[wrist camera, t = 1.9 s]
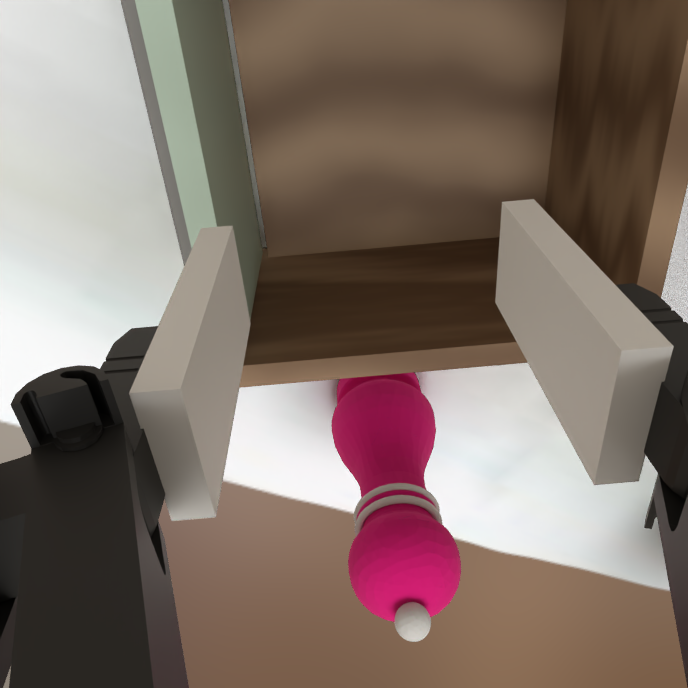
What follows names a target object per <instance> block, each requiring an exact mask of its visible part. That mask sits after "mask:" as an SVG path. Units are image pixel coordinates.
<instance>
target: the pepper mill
mask: <svg viewBox="0 0 688 688" xmlns="http://www.w3.org/2000/svg"><path fill="white" fill-rule="evenodd" d="M332 433H333V439H334V443H335V447H336V449H337V451H338V453H339V455H340V457H341V459H342V461H343V463H344V464H345V465H346V467H347V468H348V469H349V471H350V472H351V473H352V474H353V476H354V477H355V479H356V480H357V482H358V484H359V486H360V490H361V497H362V498H361V500H360V501H359V503H358V504H357V506H356V509H355V512H354V521H355V534H356V538H355V539H354V541H353V543H352V546H351V549H350V552H349V560H348V565H349V575H350V580H351V584H352V587H353V589H354V591H355V594H356V596H357V597H358V599H359V600H360V601H361V603H362V604H363V605H364V606H365V607H366V608H367V609H368V610H369V611H370V612H371V613H373V614H375V615H377V616H379V617H381V618H383V619H385V620H389V621H393V622H395V627H396V630H397V632H398V633H399V635H400V636H401V637H402V638H404V639H405V640H408V641H413V642H414V641H419V640H422V639H423V638H425V637H426V636H427V634H428V632H429V630H430V626H431V619H430V617H432V616H434V615H436V614H438V613H439V612H440V611H441V610H442V609H443V608H444V607H446V606H447V605H448V604H449V603H450V601H451V600H452V598H453V596H454V594H455V592H456V590H457V588H458V585H459V581H460V574H461V561H460V556H459V551H458V548H457V545H456V543H455V541H454V539H453V537H452V535H451V534H450V533H449V531H448V530H447V529H446V528H445V527H444V526H443V525H442V518H441V515H440V513H439V505H438V503H437V501H436V499H435V498H434V496H433V495H432V494H431V493H430V492H428V491H427V490H426V488H425V483H424V471H425V468H426V465H427V463H428V460H429V458H430V455H431V453H432V450H433V446H434V440H435V433H436V428H435V419H434V412H433V410H432V407H431V405H430V403H429V401H428V400H427V398H426V397H425V396H424V395H423V394H422V393H421V390H420V386H419V382H418V379H417V376H416V374H415V373H414V372H412V373H401V374H389V375H377V376H366V377H354V378H343V379H340V380H339V382H338V386H337V407H336V409H335V411H334V414H333V418H332Z"/></svg>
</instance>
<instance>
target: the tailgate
mask: <svg viewBox="0 0 688 688" xmlns="http://www.w3.org/2000/svg"><path fill="white" fill-rule="evenodd" d="M121 4H122V8H123V12H124V16H125V20H126V25H127V29H128V33H129V37H130V41H131V45H132V50H133V54H134V58H135V62H136V66H137V71H138V75H139V79H140V83H141V87H142V91H143V96H144V100H145V104H146V108H147V112H148V116H149V121H150V125H151V129H152V133H153V137H154V141H155V146H156V150H157V154H158V158H159V162H160V167H161V171H162V175H163V179H164V183H165V187H166V192H167V196H168V200H169V204H170V208H171V212H172V217H173V221H174V225H175V229H176V233H177V237H178V242H179V246H180V250H181V254H182V258H183V263H184V266H185V264H186V262H187V259H188V257H189V255H190V252H191V250H192V248H193V246H194V243H195V241H196V239H197V236H198V234H199V232H200V230H201V228H209V227H221V226H232V225H233V230H234V236H235V241H236V247H237V252H238V258H239V263H240V268H241V274H242V279H243V285H244V290H245V295H246V301H247V306H248V312H249V317H250V320H251V314H252V309H253V303H254V298H255V292H256V287H257V281H258V276H259V270H260V265H261V259H262V254H263V251H262V245H261V239H260V233H259V226H258V220H257V214H256V208H255V201H254V195H253V189H252V183H251V177H250V170H249V164H248V158H247V152H246V145H245V139H244V133H243V127H242V121H241V114H240V108H239V102H238V96H237V89H236V83H235V77H234V71H233V65H232V58H231V52H230V46H229V40H228V33H227V27H226V21H225V15H224V9H223V2H222V0H121Z"/></svg>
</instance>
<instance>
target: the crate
mask: <svg viewBox="0 0 688 688" xmlns="http://www.w3.org/2000/svg"><path fill="white" fill-rule="evenodd" d="M228 1H229V7H230V13H231V20H232V26H233V33H234V39H235V46H236V52H237V58H238V65H239V71H240V78H241V84H242V90H243V97H244V103H245V110H246V116H247V123H248V129H249V135H250V142H251V148H252V155H253V161H254V167H255V174H256V180H257V187H258V193H259V200H260V206H261V212H262V219H263V225H264V232H265V238H266V244H267V248H265V249H262V251H263V254H262V259H261V265H260V270H259V276H258V281H257V287H256V292H255V298H254V303H253V309H252V314H251V320H250V322H251V325H250V330H249V336H248V341H247V347H246V353H245V358H244V364H243V369H242V375H241V380H240V386H239V387H250V386H262V385H273V384H285V383H296V382H308V381H320V380H331V379H343V378H354V377H366V376H377V375H389V374H401V373H412V372H424V371H435V370H447V369H458V368H470V367H481V366H493V365H505V364H516V363H528V362H527V360H526V358H525V356H524V355H523V353H522V351H521V349H520V347H519V345H518V344H517V342H516V340H515V338H514V336H513V334H512V332H511V331H510V329H509V327H508V325H507V323H506V321H505V320H504V318H503V316H502V314H501V312H500V310H499V308H498V307H497V305H496V303H495V298H496V284H497V269H498V254H499V239H500V224H501V210H502V202H506V201H517V200H529V199H534V200H535V201H536V202H537V203H538V204H539V205H540V206H541V207H542V208H543V209H544V210H545V211H546V213H547V214H548V215H549V216H550V217H551V218H552V219H553V220H554V221H555V222H556V223H557V224H558V225H559V226H560V227H561V228H562V229H563V230H564V231H565V233H566V234H567V235H568V236H569V237H570V238H571V239H572V240H573V241H574V242H575V243H576V244H577V245H578V246H579V247H580V248H581V249H582V250H583V251H584V253H585V254H586V255H587V256H588V257H589V258H590V259H591V260H592V261H593V262H594V263H595V264H596V265H597V266H598V267H599V268H600V269H601V270H602V271H603V273H604V274H605V275H606V276H607V277H608V278H609V279H610V280H611V281H612V282H613V283H614V284H615V285H618V284H630V283H635V284H637V285H639V286H641V287H643V288H645V289H647V290H649V291H651V292H653V293H655V294H657V295H658V296H659V297H660V298H661V295H662V291H663V286H664V282H665V278H666V273H667V269H668V265H669V261H670V256H671V252H672V248H673V243H674V239H675V235H676V231H677V226H678V222H679V218H680V214H681V209H682V205H683V201H684V196H685V192H686V188H687V184H688V0H228Z"/></svg>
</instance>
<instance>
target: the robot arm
mask: <svg viewBox="0 0 688 688" xmlns="http://www.w3.org/2000/svg"><path fill="white" fill-rule="evenodd" d="M495 303H496V305H497V307H498V308H499V310H500V312H501V314H502V316H503V318H504V320H505V321H506V323H507V325H508V327H509V329H510V331H511V332H512V334H513V336H514V338H515V340H516V342H517V344H518V345H519V347H520V349H521V351H522V353H523V355H524V356H525V358H526V360H527V362H528V364H529V366H530V368H531V369H532V371H533V373H534V375H535V377H536V379H537V380H538V382H539V384H540V386H541V388H542V390H543V392H544V393H545V395H546V397H547V399H548V401H549V403H550V404H551V406H552V408H553V410H554V412H555V414H556V416H557V417H558V419H559V421H560V423H561V425H562V427H563V429H564V430H565V432H566V434H567V436H568V438H569V440H570V441H571V443H572V445H573V447H574V449H575V451H576V453H577V454H578V456H579V458H580V460H581V462H582V464H583V465H584V467H585V469H586V471H587V473H588V475H589V477H590V478H591V480H592V482H593V484H594V485H600V484H611V483H623V482H635V481H639V478H640V474H641V470H642V466H643V462H644V458H645V454H646V456H647V457H648V459H649V460H650V462H651V463H652V465H653V466H654V468H655V469H656V471H657V472H658V476H657V480H656V483H655V487H654V490H653V494H652V497H651V501H650V505H649V508H648V512H647V515H646V520H645V527H644V528H649V529H652V526H653V523H654V519H655V518H656V517H657V519H658V524H659V530H660V535H661V541H662V547H663V552H664V558H665V563H666V569H667V575H668V580H669V586H670V592H671V597H672V602H673V608H674V614H675V619H676V625H677V631H678V636H679V642H680V647H681V653H682V659H683V664H684V670H685V676H686V681H687V687H688V323H686V322H683V319H682V318H681V317H680V316H679V315H678V314H677V313H676V312H675V311H671V307H670V306H669V305H668V304H667V303H665V302H664V301H663V300H662V299H661V298H660V297H659V296H658V295H657V294H655V293H653V292H651V291H649V290H647V289H645V288H643V287H641V286H639V285H637V284H635V283H630V284H618V285H615V284H614V283H613V282H612V281H611V280H610V279H609V278H608V277H607V276H606V275H605V274H604V273H603V271H602V270H601V269H600V268H599V267H598V266H597V265H596V264H595V263H594V262H593V261H592V260H591V259H590V258H589V257H588V256H587V255H586V254H585V253H584V251H583V250H582V249H581V248H580V247H579V246H578V245H577V244H576V243H575V242H574V241H573V240H572V239H571V238H570V237H569V236H568V235H567V234H566V233H565V231H564V230H563V229H562V228H561V227H560V226H559V225H558V224H557V223H556V222H555V221H554V220H553V219H552V218H551V217H550V216H549V215H548V214H547V213H546V211H545V210H544V209H543V208H542V207H541V206H540V205H539V204H538V203H537V202H536V201H535V200H534V199H529V200H517V201H506V202H502V210H501V224H500V239H499V254H498V269H497V284H496V298H495ZM250 325H251V322H250V317H249V312H248V306H247V301H246V295H245V290H244V285H243V279H242V274H241V268H240V263H239V258H238V252H237V247H236V241H235V236H234V230H233V225H232V226H221V227H209V228H201V230H200V232H199V234H198V236H197V239H196V241H195V243H194V246H193V248H192V250H191V252H190V255H189V257H188V259H187V262H186V264H185V266H184V268H183V271H182V273H181V275H180V278H179V280H178V282H177V284H176V287H175V289H174V291H173V294H172V296H171V298H170V301H169V303H168V305H167V307H166V310H165V312H164V314H163V317H162V319H161V321H160V323H159V326H155V327H144V328H132V329H130V330H129V331H128V332H127V333H126V334H124V335H123V336H122V337H121V338H119V339H118V340H117V341H116V342H115V343H114V344H113V346H112V348H111V350H110V351H109V353H108V355H107V357H106V362H104V363H103V365H102V366H101V368H100V369H98V368H96V367H93V366H72V367H66V368H60V369H58V370H55V371H52V372H49V373H46V374H43V375H41V376H40V377H38V378H36V379H34V380H32V381H31V382H29V383H27V384H26V385H25V386H24V387H23V388H22V389H21V390H20V391H19V392H17V393H16V395H15V397H14V399H13V401H12V403H11V406H12V408H13V411H14V413H15V415H16V417H17V419H18V421H19V423H20V425H21V427H22V430H23V432H24V434H25V436H26V438H27V440H28V442H29V444H30V446H31V454H29V455H27V456H24V457H21V458H18V459H15V460H12V461H8V462H5V463H2V464H0V688H3V686H4V683H5V680H6V677H7V674H8V672H9V669H10V666H11V674H10V684H9V688H189V686H188V680H187V674H186V668H185V662H184V655H183V649H182V643H181V637H180V631H179V625H178V619H177V613H176V607H175V600H174V594H173V588H172V582H171V576H170V570H169V564H168V558H167V552H166V545H165V539H164V536H163V533H162V530H161V527H160V524H159V522H158V519H159V516H160V512H161V508H162V505H163V501H164V499H165V502H166V505H167V508H168V511H169V514H170V517H171V520H172V521H177V520H189V519H200V518H212V517H216V514H217V508H218V503H219V497H220V492H221V486H222V481H223V475H224V469H225V464H226V458H227V453H228V447H229V442H230V436H231V430H232V425H233V419H234V414H235V408H236V403H237V397H238V392H239V386H240V380H241V375H242V369H243V364H244V358H245V353H246V347H247V341H248V336H249V330H250Z"/></svg>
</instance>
